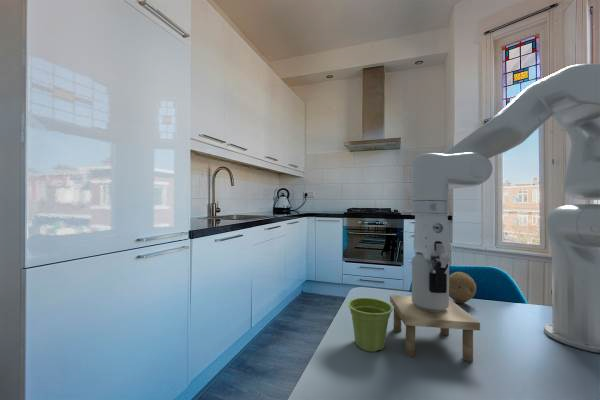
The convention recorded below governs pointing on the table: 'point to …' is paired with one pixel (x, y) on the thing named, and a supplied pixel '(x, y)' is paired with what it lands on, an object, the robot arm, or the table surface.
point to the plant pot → (370, 322)
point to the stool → (433, 323)
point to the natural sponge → (461, 287)
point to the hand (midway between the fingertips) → (429, 285)
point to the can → (426, 287)
